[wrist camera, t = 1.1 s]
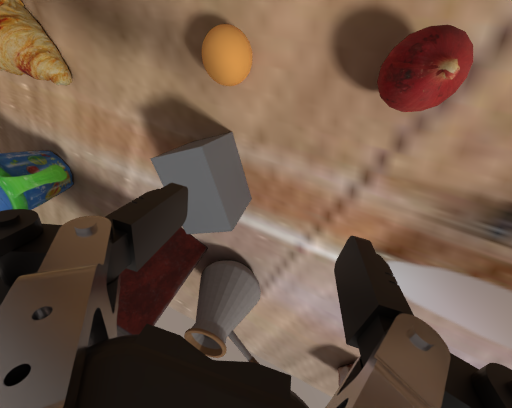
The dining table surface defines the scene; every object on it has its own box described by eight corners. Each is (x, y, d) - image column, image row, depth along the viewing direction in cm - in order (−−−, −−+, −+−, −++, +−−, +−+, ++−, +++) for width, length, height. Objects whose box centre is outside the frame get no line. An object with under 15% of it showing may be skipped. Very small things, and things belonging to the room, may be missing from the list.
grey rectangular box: (232, 131, 26) (201, 146, 19) (251, 198, 30) (232, 231, 23) (191, 142, 29) (150, 158, 21) (214, 203, 33) (186, 234, 26)
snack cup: (73, 138, 34) (-10, 154, 25) (102, 195, 38) (40, 225, 30) (13, 142, 38) (-76, 157, 29) (45, 194, 43) (-23, 219, 34)
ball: (250, 23, 21) (233, 5, 16) (262, 78, 23) (250, 75, 18) (208, 41, 22) (183, 30, 18) (223, 92, 24) (203, 92, 20)
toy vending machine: (158, 210, 36) (-136, 430, 13) (208, 248, 38) (26, 510, 14) (143, 236, 41) (-94, 433, 17) (187, 269, 42) (24, 494, 19)
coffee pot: (200, 275, 42) (151, 354, 30) (220, 241, 36) (168, 322, 24) (287, 326, 43) (275, 425, 30) (321, 301, 37) (324, 411, 24)
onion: (363, 109, 22) (385, 117, 15) (377, 40, 19) (412, 12, 12) (427, 108, 20) (483, 116, 13) (452, 34, 18) (538, -2, 11)
